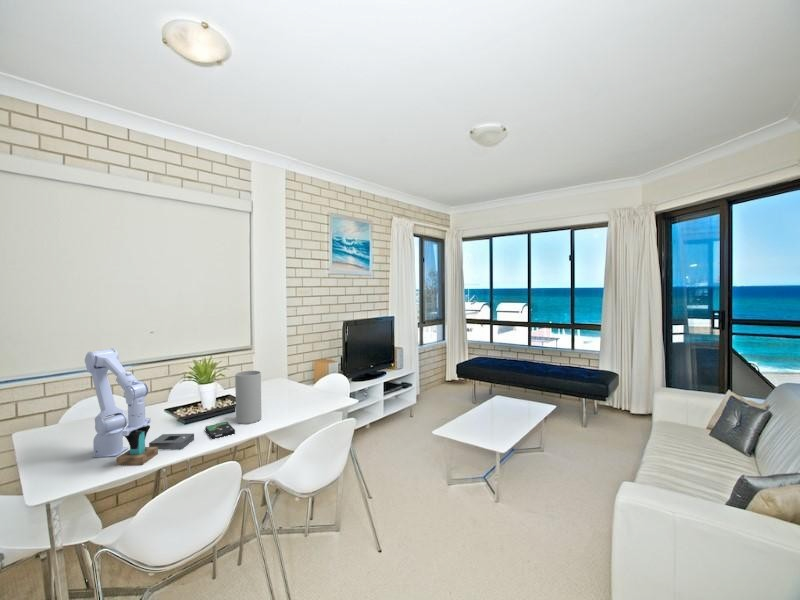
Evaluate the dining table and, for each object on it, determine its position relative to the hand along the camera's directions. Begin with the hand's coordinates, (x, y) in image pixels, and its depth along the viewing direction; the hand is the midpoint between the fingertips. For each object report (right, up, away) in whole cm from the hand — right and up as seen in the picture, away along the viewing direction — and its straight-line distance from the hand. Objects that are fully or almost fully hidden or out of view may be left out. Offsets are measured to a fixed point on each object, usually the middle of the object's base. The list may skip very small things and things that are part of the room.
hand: (137, 446), depth 151 cm
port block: (+5, -5, +14) cm, 16 cm away
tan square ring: (0, -5, 0) cm, 5 cm away
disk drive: (+20, -5, +29) cm, 35 cm away
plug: (0, -4, 0) cm, 4 cm away
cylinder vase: (+27, -4, +45) cm, 53 cm away
